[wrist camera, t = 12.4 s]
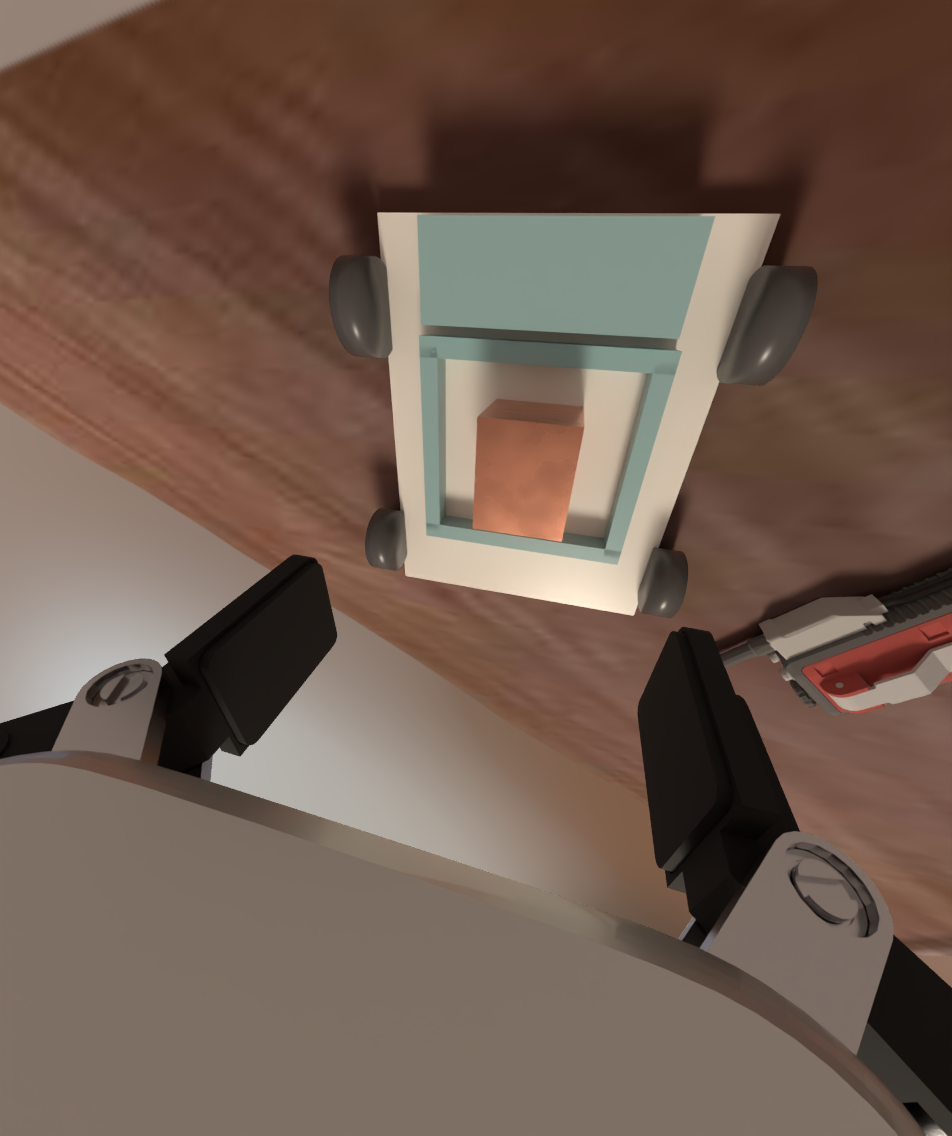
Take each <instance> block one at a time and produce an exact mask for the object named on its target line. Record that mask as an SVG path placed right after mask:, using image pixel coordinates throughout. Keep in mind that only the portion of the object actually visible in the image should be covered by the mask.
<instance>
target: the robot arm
mask: <svg viewBox="0 0 952 1136" xmlns="http://www.w3.org/2000/svg"><path fill="white" fill-rule="evenodd" d="M336 638H337V631H336V627H335V622H334V618H333V613H332V609H331V604H330V600H329V595H328V591H327V586H326V582H325V577H324V573H323V569H322V566H321V565H320V564H318V562H317V560H316V559H315V558H312V557H307V556H301V555H292V556H290V557H289V558H287V559H286V560H285V561H284V562H282V563H281V564H280V565H278V566H277V567H276V568H275V569H273V570H272V571H271V572H270V573H268V574H267V575H266V576H264V577H263V578H262V579H261V580H259V581H258V582H257V583H255V584H254V585H253V586H252V587H250V588H249V589H248V590H247V591H245V592H244V593H243V594H241V595H240V596H239V597H237V598H236V599H235V600H234V601H232V602H231V603H230V604H229V605H227V606H226V607H225V608H223V609H222V610H221V611H220V612H218V613H217V614H216V615H214V616H213V617H212V618H211V619H209V620H208V621H207V622H205V623H204V624H203V625H202V626H200V627H199V628H198V629H196V630H195V631H194V632H193V633H192V634H190V635H189V636H188V637H186V638H185V639H184V640H183V641H181V642H180V643H179V644H177V645H176V646H175V647H174V648H172V649H171V650H170V651H168V652H167V653H166V654H165V657H166V658H167V660H168V663H167V664H166V665H165V666H163V667H161V665H160V664H159V663H158V662H157V661H155V660H152V659H135V660H130V661H126V662H123V663H120V664H117V665H114V666H112V667H110V668H108V669H106V670H104V671H103V672H101V673H99V674H98V675H96V676H95V677H93V678H92V679H91V680H89V681H88V682H87V683H86V684H85V685H84V686H83V687H82V689H81V690H80V691H79V693H78V694H77V696H76V698H75V700H74V701H71V702H68V703H65V704H61V705H58V706H55V707H52V708H48V709H45V710H42V711H39V712H36V713H32V714H29V715H26V716H23V717H20V718H16V719H13V720H10V721H7V722H3V723H0V1136H952V988H951V987H950V986H949V985H948V984H947V983H946V982H945V981H944V980H942V979H941V978H940V977H939V976H938V975H937V974H936V973H935V972H934V971H933V970H931V969H930V968H929V967H928V966H927V965H926V964H925V963H924V962H923V961H922V960H921V959H920V958H918V957H917V956H916V955H915V954H914V953H913V952H912V951H911V950H910V949H909V948H907V947H906V946H905V945H904V944H903V943H902V942H901V941H900V940H899V939H898V938H897V937H895V936H894V935H893V927H894V925H893V922H892V918H891V915H890V912H889V909H888V906H887V904H886V903H885V901H884V899H883V897H882V896H881V894H880V892H879V890H878V889H877V887H876V886H875V885H874V883H873V882H872V881H871V880H870V878H869V877H868V876H867V875H866V874H865V872H864V871H863V870H862V869H861V868H860V867H859V866H858V865H857V864H856V863H855V862H854V861H853V860H851V859H850V858H849V857H848V856H847V855H846V854H845V853H844V852H842V851H841V850H839V849H838V848H836V847H835V846H833V845H832V844H830V843H829V842H827V841H825V840H823V839H821V838H818V837H816V836H814V835H812V834H808V833H803V832H800V831H799V828H798V826H797V823H796V821H795V818H794V816H793V814H792V811H791V809H790V806H789V804H788V802H787V799H786V797H785V794H784V792H783V789H782V787H781V785H780V782H779V780H778V777H777V775H776V773H775V770H774V768H773V765H772V763H771V760H770V758H769V756H768V753H767V751H766V748H765V746H764V744H763V741H762V739H761V736H760V734H759V731H758V729H757V727H756V724H755V722H754V719H753V717H752V715H751V712H750V710H749V707H748V705H747V703H746V702H745V700H744V699H743V698H742V697H741V696H739V695H736V694H735V692H734V689H733V687H732V684H731V682H730V679H729V676H728V674H727V671H726V669H725V666H724V664H723V661H722V659H721V656H720V654H719V651H718V649H717V646H716V643H715V641H714V638H713V636H712V634H711V633H710V632H709V631H703V630H698V629H693V628H687V627H682V628H681V629H680V630H679V631H678V632H676V631H672V632H671V633H670V635H669V637H668V639H667V641H666V643H665V646H664V648H663V650H662V652H661V654H660V657H659V659H658V661H657V663H656V665H655V668H654V670H653V672H652V674H651V677H650V679H649V681H648V683H647V685H646V688H645V690H644V692H643V694H642V697H641V699H640V701H639V705H638V722H639V730H640V738H641V746H642V755H643V763H644V771H645V779H646V787H647V795H648V803H649V811H650V820H651V827H652V835H653V844H654V852H655V859H656V863H657V865H658V867H659V868H661V869H664V870H665V873H666V881H667V888H670V889H674V890H677V891H680V892H683V893H686V895H687V900H688V906H689V912H690V913H691V914H692V916H693V918H692V919H691V921H690V922H689V924H688V925H687V927H686V928H685V930H684V931H683V933H682V934H681V935H680V937H679V938H678V939H676V938H673V937H671V936H669V935H666V934H664V933H661V932H659V931H656V930H654V929H652V928H649V927H646V926H643V925H641V924H638V923H635V922H632V921H629V920H626V919H624V918H621V917H618V916H615V915H612V914H609V913H607V912H604V911H601V910H598V909H595V908H592V907H589V906H587V905H584V904H581V903H578V902H575V901H572V900H570V899H566V898H564V897H561V896H558V895H555V894H552V893H549V892H546V891H543V890H540V889H537V888H534V887H531V886H528V885H525V884H522V883H519V882H516V881H513V880H510V879H507V878H504V877H501V876H498V875H495V874H492V873H489V872H486V871H483V870H480V869H477V868H474V867H471V866H468V865H465V864H462V863H459V862H456V861H453V860H450V859H447V858H444V857H441V856H438V855H435V854H432V853H428V852H426V851H423V850H420V849H416V848H413V847H410V846H407V845H404V844H401V843H398V842H395V841H392V840H389V839H386V838H383V837H380V836H377V835H374V834H370V833H368V832H364V831H361V830H358V829H355V828H352V827H349V826H346V825H343V824H340V823H337V822H334V821H331V820H327V819H325V818H322V817H318V816H315V815H312V814H309V813H306V812H303V811H300V810H297V809H294V808H291V807H288V806H285V805H281V804H278V803H275V802H272V801H269V800H266V799H263V798H260V797H256V796H253V795H250V794H247V793H244V792H241V791H238V790H234V789H231V788H228V787H225V786H222V785H219V784H216V783H213V782H210V779H211V769H212V757H213V754H214V753H215V752H216V751H217V750H218V748H219V747H220V748H221V750H222V751H224V752H228V753H231V754H234V755H237V756H241V755H242V754H243V752H244V751H245V750H246V749H247V747H248V746H249V745H253V744H254V743H256V742H257V741H258V740H259V739H260V738H261V736H262V735H263V734H264V733H265V731H266V730H267V729H268V727H269V726H270V725H271V724H272V722H273V721H274V720H275V719H276V717H277V716H278V715H279V714H280V712H281V711H282V710H283V709H284V707H285V706H286V705H287V704H288V702H289V701H290V700H291V698H292V697H293V696H294V695H295V693H296V692H297V691H298V690H299V688H300V687H301V686H302V685H303V683H304V682H305V681H306V679H307V678H308V677H309V676H310V675H311V673H312V672H313V671H314V669H315V668H316V667H317V666H318V664H319V663H320V662H321V661H322V659H323V658H324V657H325V656H326V654H327V653H328V652H329V651H330V649H331V648H332V647H333V645H334V644H335V642H336Z"/></svg>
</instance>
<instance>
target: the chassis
mask: <svg viewBox="0 0 952 1136" xmlns="http://www.w3.org/2000/svg"><path fill="white" fill-rule="evenodd" d="M377 216H378V229H379V242H380V254H381V259H380V258H378V257H376V256H350V255H343V256H340V257H338V258H337V259H336V261H335V262H334V264H333V267H332V270H331V274H330V280H329V302H330V310H331V315H332V319H333V323H334V327H335V330H336V332H337V335H338V337H339V340H340V341H341V343H342V345H343V346H344V348H345V349H346V350H347V351H348V352H349V353H350V354H351V355H353V356H360V357H374V358H386V357H389V370H390V382H391V395H392V408H393V421H394V434H395V446H396V459H397V472H398V485H399V498H400V510H401V511H399V510H392V509H385V508H380V509H378V510H377V511H376V512H375V513H374V514H373V516H372V518H371V520H370V522H369V525H368V528H367V532H366V540H365V551H366V557H367V560H368V562H369V564H370V565H371V566H373V567H377V568H383V569H389V570H395V571H396V570H398V569H400V568H401V566H402V565H403V563H404V562H405V574H406V576H410V577H416V578H421V579H427V580H433V581H438V582H444V583H450V584H456V585H461V586H467V587H473V588H479V589H484V590H490V591H496V592H501V593H507V594H513V595H519V596H524V597H530V598H536V599H541V600H547V601H553V602H559V603H564V604H570V605H576V606H581V607H587V608H593V609H599V610H604V611H610V612H616V613H622V614H627V615H633V616H634V613H635V611H636V608H637V605H638V607H639V610H640V612H641V613H643V614H648V615H654V616H660V617H666V618H672V617H673V616H674V615H675V614H676V613H677V612H678V610H679V608H680V606H681V604H682V602H683V599H684V595H685V592H686V587H687V580H688V564H687V559H686V556H685V554H684V553H683V552H682V551H675V550H668V549H662V548H659V545H660V542H661V540H662V537H663V534H664V531H665V529H666V526H667V523H668V520H669V518H670V515H671V512H672V510H673V507H674V504H675V501H676V499H677V496H678V493H679V490H680V488H681V485H682V482H683V479H684V477H685V474H686V471H687V469H688V466H689V463H690V460H691V458H692V455H693V452H694V449H695V447H696V444H697V441H698V438H699V436H700V433H701V430H702V428H703V425H704V422H705V419H706V417H707V414H708V411H709V408H710V406H711V403H712V400H713V397H714V395H715V392H716V389H717V387H718V384H719V382H721V383H732V384H745V385H759V386H760V385H764V384H766V383H768V382H769V381H771V380H772V379H773V378H774V377H775V376H776V375H777V374H778V373H779V372H780V371H781V369H782V368H783V367H784V365H785V364H786V363H787V361H788V360H789V358H790V357H791V355H792V354H793V352H794V350H795V349H796V347H797V345H798V343H799V341H800V339H801V337H802V335H803V333H804V331H805V328H806V326H807V324H808V321H809V318H810V316H811V313H812V309H813V306H814V302H815V298H816V293H817V273H816V271H815V269H814V268H813V267H807V266H762V263H763V261H764V258H765V255H766V253H767V250H768V247H769V244H770V242H771V239H772V236H773V233H774V231H775V228H776V225H777V222H778V220H779V217H780V214H681V213H377ZM761 266H762V267H761ZM496 399H504V400H515V401H526V402H537V403H548V404H560V405H571V406H582V407H584V432H583V438H582V443H581V448H580V453H579V458H578V463H577V468H576V473H575V478H574V483H573V488H572V493H571V498H570V503H569V508H568V513H567V518H566V523H565V528H564V533H563V538H562V542H560V541H553V540H546V539H540V538H533V537H526V536H520V535H513V534H506V533H500V532H493V531H486V530H480V529H473V506H474V483H475V460H476V437H477V417H478V416H479V415H480V414H481V413H482V412H483V411H484V410H485V409H486V408H487V407H488V406H489V405H491V404H492V403H493V402H494V401H495V400H496Z"/></svg>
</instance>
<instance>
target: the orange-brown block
mask: <svg viewBox="0 0 952 1136" xmlns="http://www.w3.org/2000/svg"><path fill="white" fill-rule="evenodd" d="M583 432H584V407H582V406H571V405H560V404H548V403H537V402H526V401H515V400H504V399H496V400H495V401H494V402H493V403H492V404H491V405H489V406H488V407H487V408H486V409H485V410H484V411H483V412H482V413H481V414H480V415H479V416H478V417H477V437H476V460H475V483H474V506H473V529H480V530H486V531H493V532H500V533H506V534H513V535H520V536H526V537H533V538H540V539H546V540H553V541H560V542H562V538H563V533H564V528H565V523H566V518H567V513H568V508H569V503H570V498H571V493H572V488H573V483H574V478H575V473H576V468H577V463H578V458H579V453H580V448H581V443H582V438H583Z"/></svg>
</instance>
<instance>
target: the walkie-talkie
mask: <svg viewBox="0 0 952 1136" xmlns="http://www.w3.org/2000/svg"><path fill="white" fill-rule="evenodd" d="M759 626H760V628H761V629H762V631H763V634H761V635H759V636H757V637H754V638H752V639H750V640H748V641H747V643H745V644H743V645H741V646H738V647H736V648H734V649H731V650H729V651H727V652H725V653H722V654H720V656H721V659H722V661H723V664H724V666H725V668H727V667H730V666H732V665H735V664H737V663H740V662H742V661H745V660H747V659H749V658H752V657H754V656H759V657H761V656H763V655H766V654H767V655H768V656H769V658H770V659H771V661H772V662H773V663H776V662H778V661H780V662H782V664H783V667H784V668H783V669H780V670H779V672H780V674H781V675H782V676H783V678H784V679H785V680H786V681H787V680H790V679H793V680H790V684H791V686H792V688H793V689H794V691H795V693H796V694H797V695H798V696H799V698H800V699H801V700H802V702H803V703H804V704H805V705H806V706H808V707H814V706H816V702H817V703H818V704H819V705H820V706H821V707H822V708H823V709H824V710H825V711H826V712H827V713H828V714H829V715H838V716H840V715H843V714H846V713H865V712H868V711H871V710H875V709H878V708H882V707H884V706H885V705H884V703H891V704H896V703H900V702H903V701H907V700H910V699H914V698H917V697H921V696H925V695H928V694H931V693H932V692H933V691H934V689H935V688H936V687H938V686H942V685H946V684H948V683H952V568H949V569H948V570H947V571H945V572H942V573H937V574H936V575H935V576H933V577H930V578H928V577H927V578H925V579H924V580H923V581H921V582H918V583H917V582H915V583H913V585H911V586H909V587H903V588H902V589H901V590H899V591H897V592H895V591H894V592H891V594H889V595H886V596H882V597H880V598H875V597H874V596H873V595H872V594H871V595H869V596H866V597H863V596H859V597H825V598H819V599H817V600H815V601H812V602H810V603H808V604H806V605H803V606H801V607H799V608H797V609H794V610H792V611H790V612H788V613H785V614H783V615H781V616H779V617H776V618H774V619H768V620H766V621H763V622H761V623H759Z"/></svg>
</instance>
